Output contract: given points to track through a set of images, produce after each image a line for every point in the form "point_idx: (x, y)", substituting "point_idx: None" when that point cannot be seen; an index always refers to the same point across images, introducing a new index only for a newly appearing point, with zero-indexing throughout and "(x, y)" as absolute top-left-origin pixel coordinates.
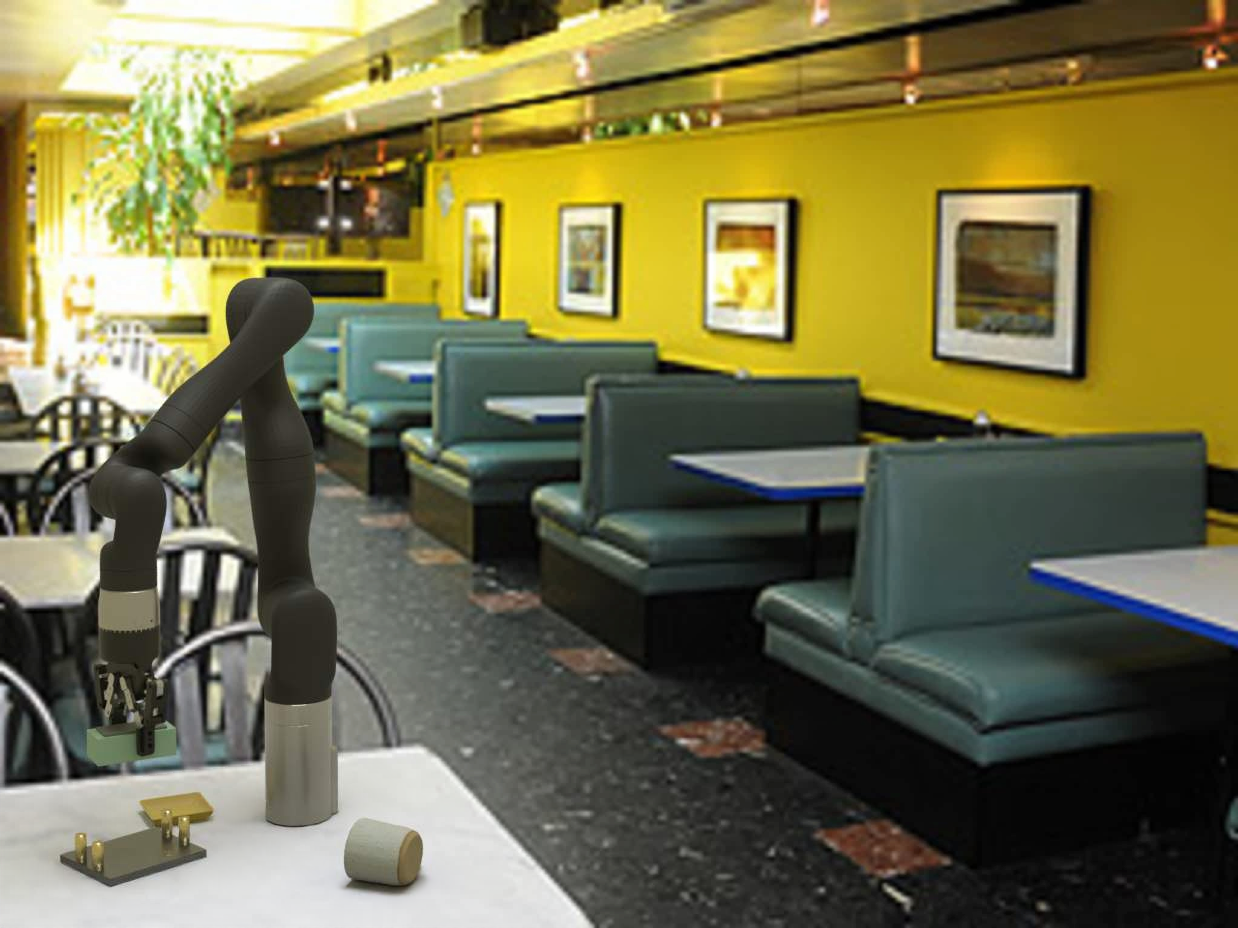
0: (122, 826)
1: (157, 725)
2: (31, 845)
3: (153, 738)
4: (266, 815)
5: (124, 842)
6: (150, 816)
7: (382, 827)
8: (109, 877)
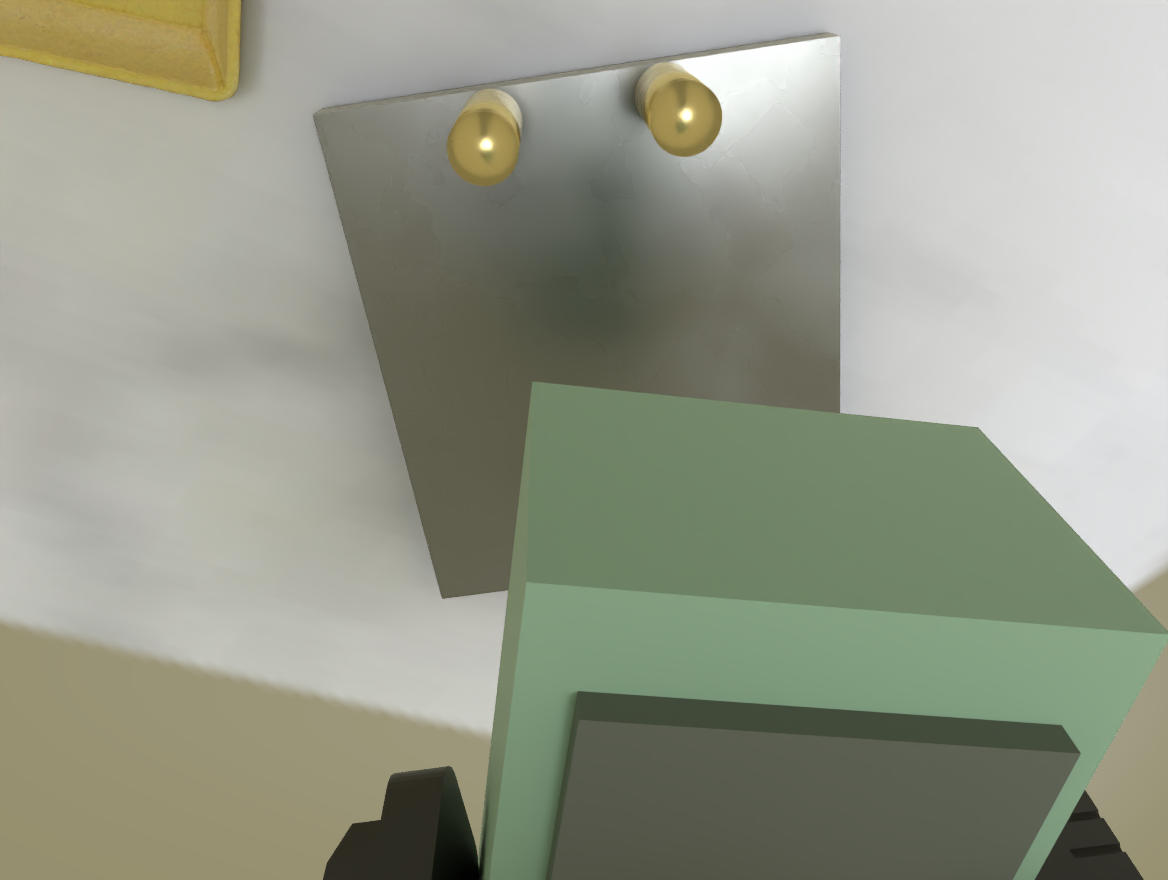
0: (107, 202)
1: (934, 830)
2: (190, 600)
3: (1126, 874)
4: None
5: (459, 343)
6: (174, 88)
7: None
8: None
